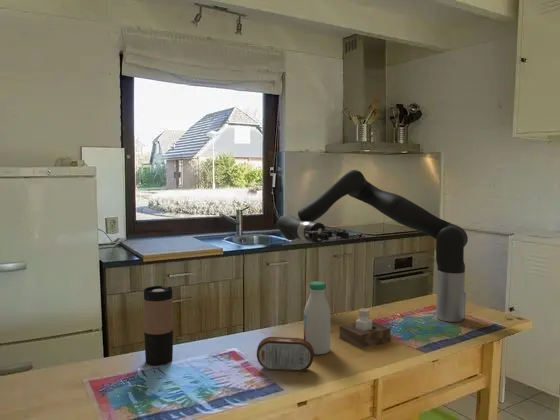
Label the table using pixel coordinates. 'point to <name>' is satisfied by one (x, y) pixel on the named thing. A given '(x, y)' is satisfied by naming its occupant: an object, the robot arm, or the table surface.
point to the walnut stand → (364, 335)
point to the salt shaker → (364, 320)
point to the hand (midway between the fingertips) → (338, 236)
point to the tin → (285, 354)
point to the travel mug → (158, 325)
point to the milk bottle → (317, 319)
